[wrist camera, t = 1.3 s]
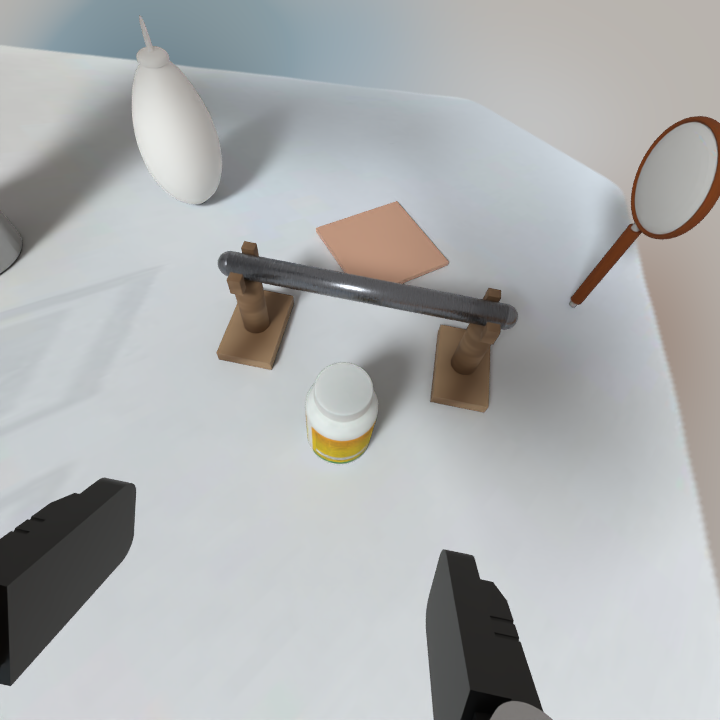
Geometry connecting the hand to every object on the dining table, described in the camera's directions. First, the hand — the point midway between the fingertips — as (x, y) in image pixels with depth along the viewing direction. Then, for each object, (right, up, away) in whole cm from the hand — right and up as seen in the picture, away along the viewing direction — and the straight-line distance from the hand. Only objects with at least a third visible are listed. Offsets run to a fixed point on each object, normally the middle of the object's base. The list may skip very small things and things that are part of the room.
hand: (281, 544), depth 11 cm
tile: (+4, +17, +37) cm, 42 cm away
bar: (+3, +10, +23) cm, 25 cm away
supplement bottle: (0, -2, +26) cm, 26 cm away
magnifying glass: (+25, +10, +35) cm, 45 cm away
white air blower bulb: (-17, +24, +40) cm, 49 cm away
